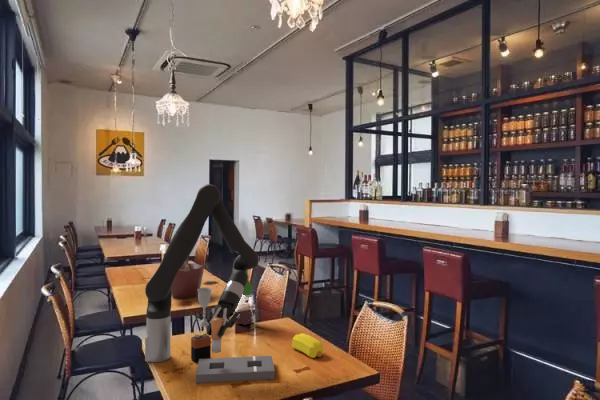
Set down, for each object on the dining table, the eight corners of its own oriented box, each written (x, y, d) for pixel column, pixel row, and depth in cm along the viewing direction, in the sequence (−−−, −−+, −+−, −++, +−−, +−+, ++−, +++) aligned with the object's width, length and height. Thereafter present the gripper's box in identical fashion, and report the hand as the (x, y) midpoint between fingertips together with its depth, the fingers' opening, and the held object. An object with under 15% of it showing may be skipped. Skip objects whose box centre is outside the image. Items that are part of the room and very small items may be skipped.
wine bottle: (249, 326, 212) (249, 266, 211) (234, 325, 213) (234, 266, 212) (254, 321, 219) (254, 264, 218) (239, 320, 221) (240, 263, 220)
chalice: (213, 323, 216) (214, 288, 215) (207, 327, 209) (207, 291, 209) (201, 322, 218) (201, 287, 217) (194, 326, 211) (194, 290, 211)
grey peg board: (195, 383, 150) (195, 374, 150) (199, 366, 164) (199, 358, 164) (274, 379, 154) (274, 370, 154) (271, 363, 168) (271, 355, 168)
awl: (210, 353, 156) (211, 321, 156) (211, 349, 160) (211, 317, 160) (221, 353, 157) (222, 320, 156) (222, 348, 160) (222, 317, 160)
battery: (190, 359, 171) (190, 334, 171) (206, 355, 175) (206, 331, 175) (194, 363, 167) (195, 338, 167) (211, 359, 171) (211, 334, 171)
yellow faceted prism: (301, 344, 190) (287, 347, 185) (301, 329, 190) (287, 332, 185) (328, 357, 176) (313, 361, 171) (328, 341, 175) (313, 345, 171)
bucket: (196, 301, 257) (196, 260, 256) (160, 300, 257) (160, 259, 257) (206, 291, 281) (206, 253, 281) (173, 290, 282) (173, 253, 281)
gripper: (212, 287, 167) (193, 327, 156) (244, 292, 162) (226, 333, 151) (219, 298, 172) (201, 337, 161) (250, 302, 167) (234, 343, 156)
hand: (213, 335), depth 156 cm, fingers closed on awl, 4 cm apart
